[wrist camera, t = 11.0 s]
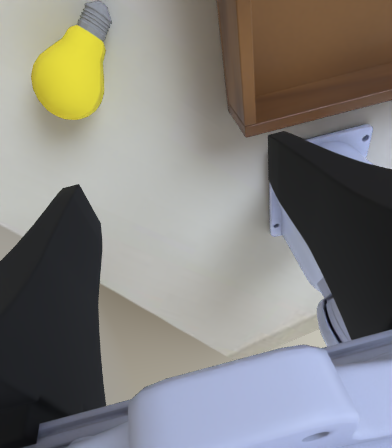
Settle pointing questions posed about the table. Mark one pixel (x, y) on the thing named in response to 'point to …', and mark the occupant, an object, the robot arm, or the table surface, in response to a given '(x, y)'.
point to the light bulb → (74, 67)
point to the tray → (303, 59)
